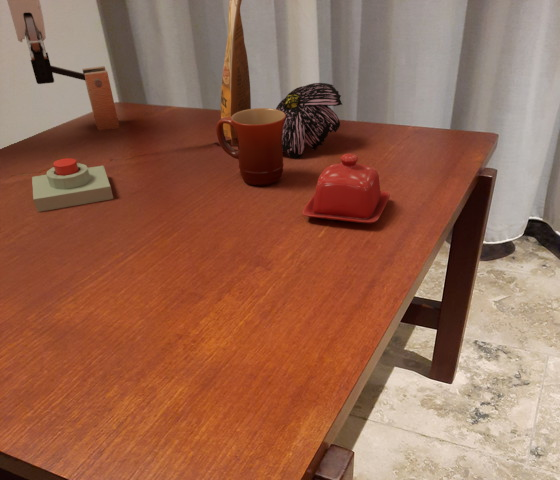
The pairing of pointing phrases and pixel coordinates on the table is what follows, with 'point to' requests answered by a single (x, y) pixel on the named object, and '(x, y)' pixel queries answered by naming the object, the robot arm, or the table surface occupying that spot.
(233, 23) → the pancake mix bag
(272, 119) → the mug
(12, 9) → the robot arm
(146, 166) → the table surface
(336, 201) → the butter dish
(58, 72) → the lever
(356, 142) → the table surface
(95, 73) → the bracket
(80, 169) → the button housing
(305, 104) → the decorative flower
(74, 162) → the button
